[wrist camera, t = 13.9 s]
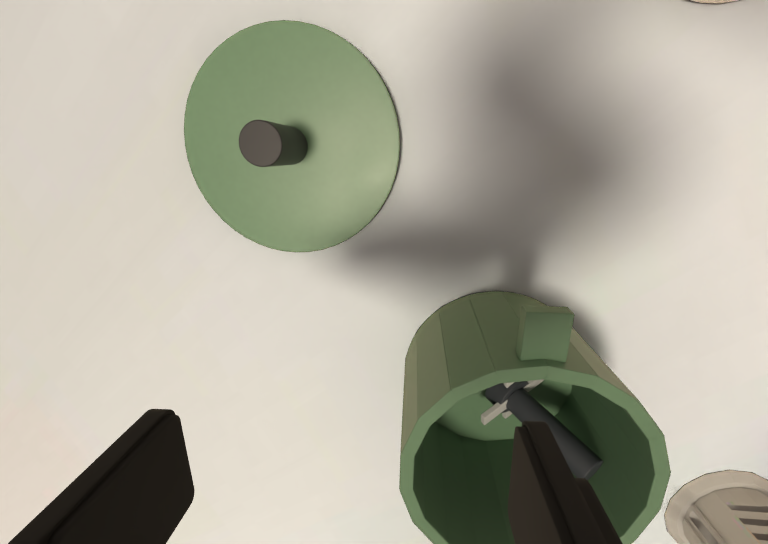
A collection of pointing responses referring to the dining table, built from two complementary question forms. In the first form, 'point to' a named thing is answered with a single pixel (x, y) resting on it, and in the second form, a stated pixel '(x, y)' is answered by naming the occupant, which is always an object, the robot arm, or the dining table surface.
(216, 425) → the dining table surface
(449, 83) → the dining table surface
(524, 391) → the blade
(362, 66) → the lid
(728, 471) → the french press
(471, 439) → the chamber
